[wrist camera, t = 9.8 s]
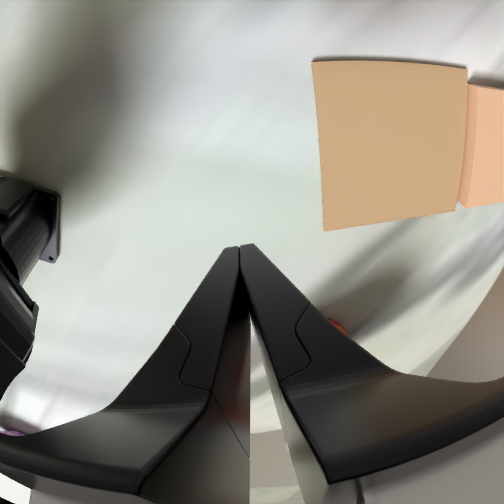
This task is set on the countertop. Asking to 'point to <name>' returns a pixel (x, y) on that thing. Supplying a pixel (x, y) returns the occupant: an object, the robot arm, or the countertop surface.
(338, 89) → the mat
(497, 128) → the tile
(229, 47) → the countertop surface
